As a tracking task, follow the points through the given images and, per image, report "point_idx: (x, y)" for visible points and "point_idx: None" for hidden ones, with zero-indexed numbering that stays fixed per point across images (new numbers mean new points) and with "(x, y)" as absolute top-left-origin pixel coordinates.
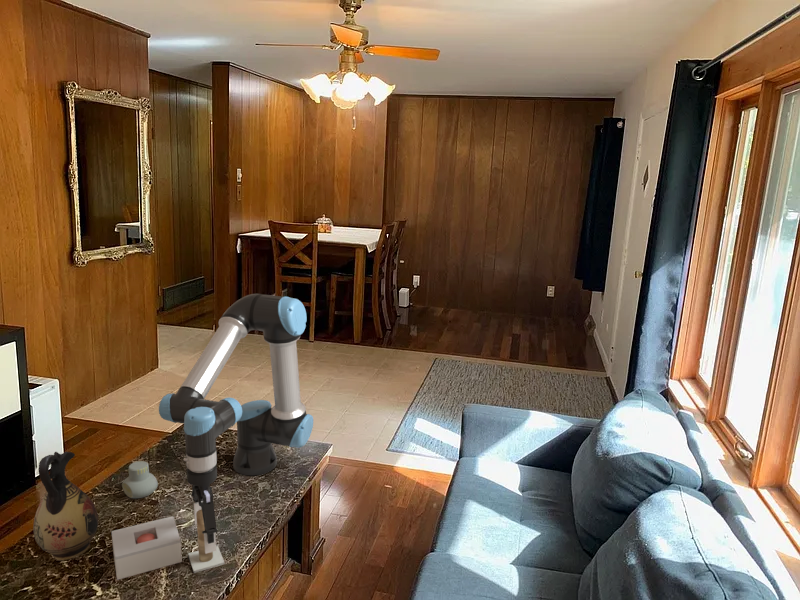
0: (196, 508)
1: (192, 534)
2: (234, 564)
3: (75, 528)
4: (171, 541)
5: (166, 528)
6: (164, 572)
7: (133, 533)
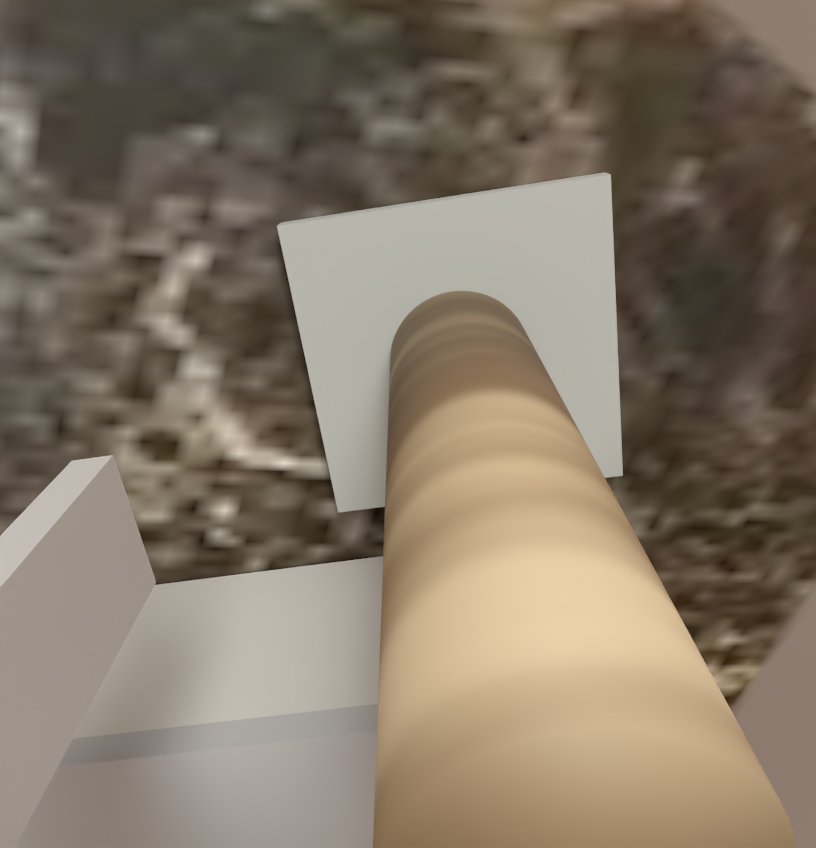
0: (14, 787)
1: (11, 457)
2: (654, 55)
3: None
4: None
5: (148, 841)
6: None
7: None
